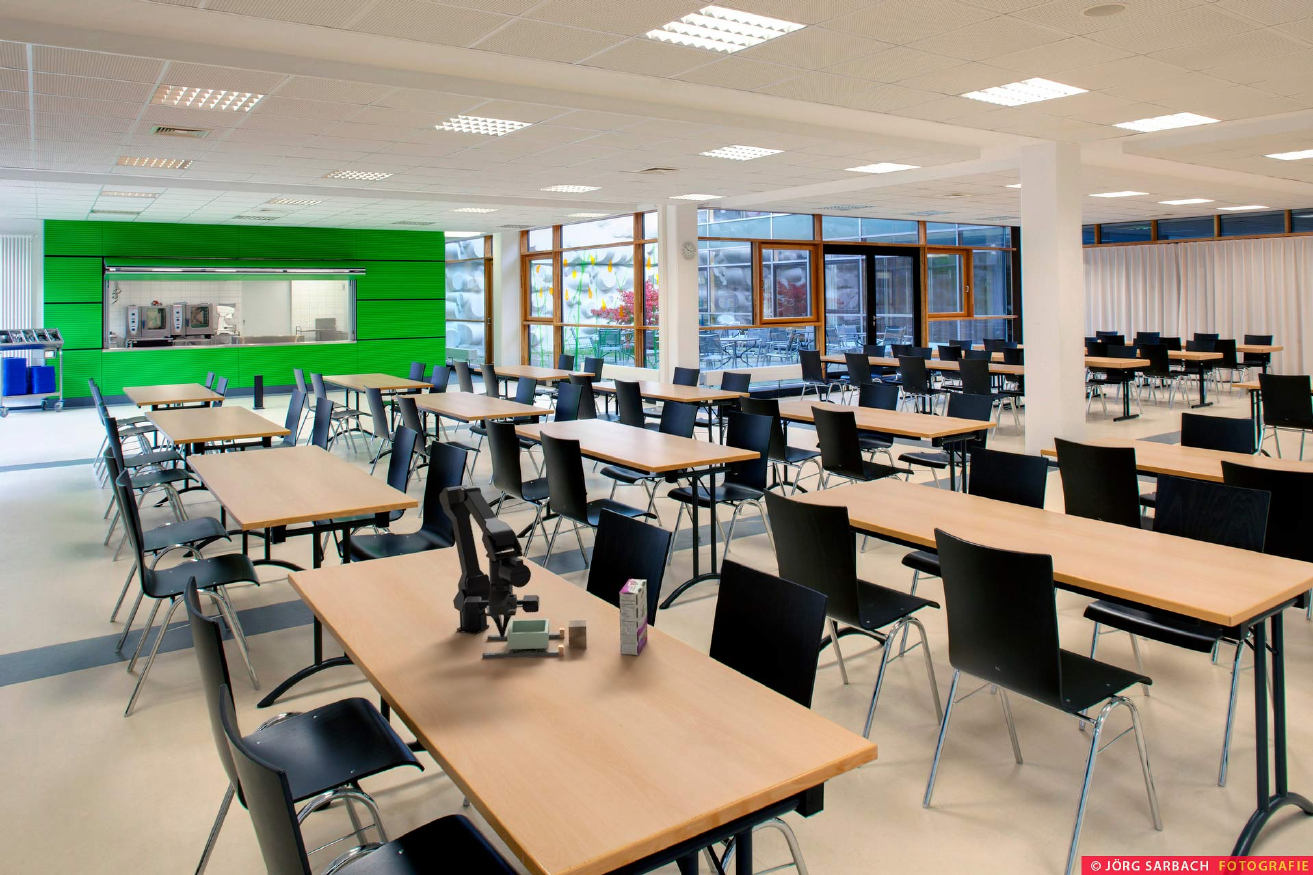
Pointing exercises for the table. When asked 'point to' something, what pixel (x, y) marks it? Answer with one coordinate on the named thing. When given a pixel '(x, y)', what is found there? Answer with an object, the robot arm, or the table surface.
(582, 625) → the walnut block
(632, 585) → the candy bar box
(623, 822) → the table surface
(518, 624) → the sage green storage bin
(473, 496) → the robot arm
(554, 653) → the rails
